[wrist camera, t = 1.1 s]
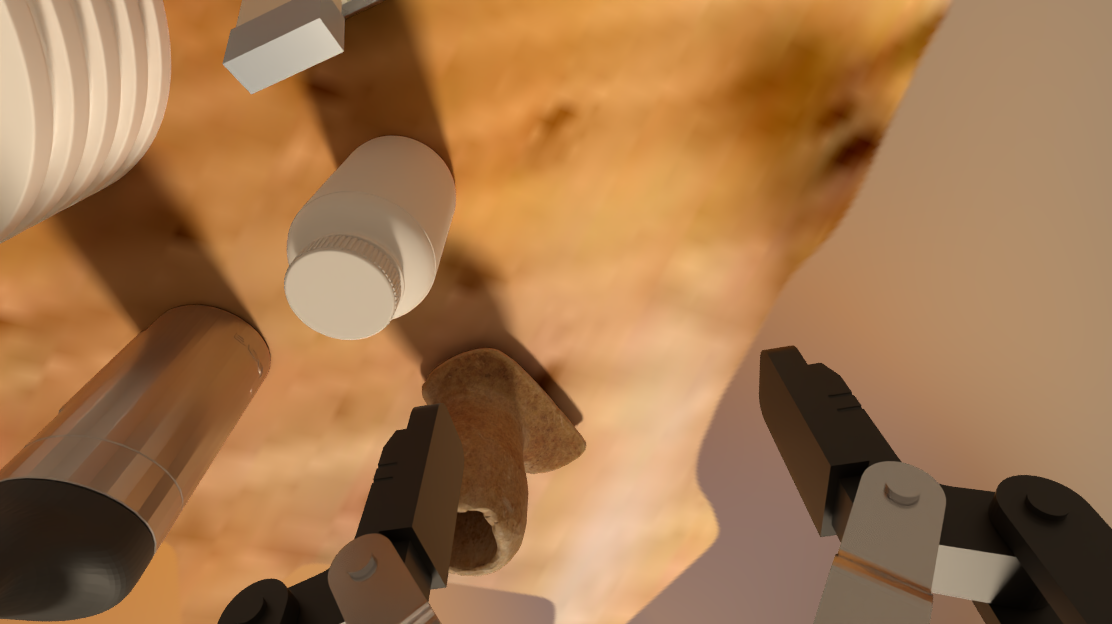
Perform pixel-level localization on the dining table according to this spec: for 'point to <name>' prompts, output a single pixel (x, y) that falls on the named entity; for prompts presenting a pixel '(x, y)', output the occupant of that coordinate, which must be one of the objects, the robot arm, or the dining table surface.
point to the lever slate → (282, 39)
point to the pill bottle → (370, 238)
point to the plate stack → (76, 100)
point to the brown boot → (497, 451)
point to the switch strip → (356, 6)
